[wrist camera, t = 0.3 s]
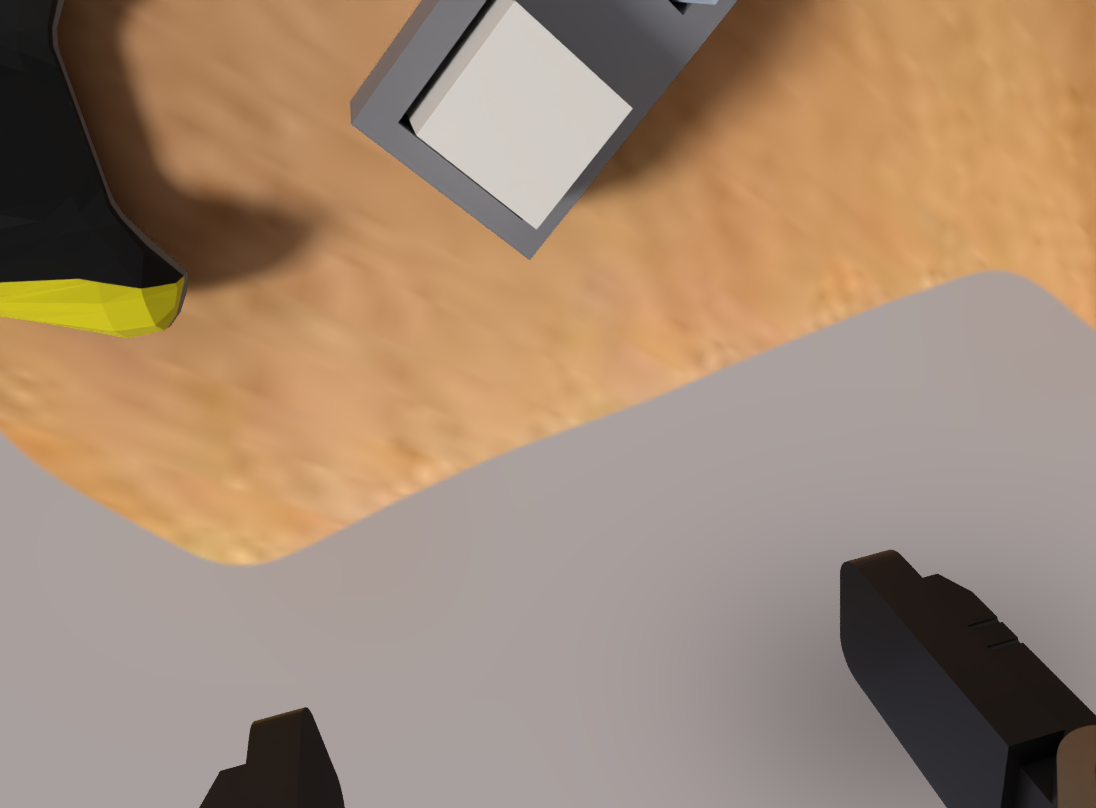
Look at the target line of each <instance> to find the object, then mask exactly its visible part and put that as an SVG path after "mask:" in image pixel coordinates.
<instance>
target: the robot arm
mask: <svg viewBox="0 0 1096 808" xmlns="http://www.w3.org/2000/svg"><path fill="white" fill-rule="evenodd" d="M840 639H841V646H842V650H843V653H844V657H845V659H846V662H847V665H848V667H849V669H850V671H851V673H852V674H853V676H854V678H855V680H856V681H857V682H858V684H859V685H860V687H861V688H862V689H863V691H864V692H865V694H866V695H867V696H868V698H869V699H870V701H871V702H872V703H873V705H874V706H875V707H876V709H877V710H878V712H879V713H880V715H881V716H882V717H883V719H884V720H885V721H886V723H887V724H888V726H889V727H890V729H891V730H892V731H893V733H894V734H895V736H896V737H897V738H898V740H899V741H900V743H901V744H902V745H903V747H904V748H905V750H906V751H907V752H908V754H909V755H910V757H911V758H912V759H913V761H914V762H915V764H916V765H917V766H918V768H919V769H920V770H921V772H922V773H923V775H924V776H925V777H926V779H927V780H928V782H929V783H930V785H931V786H932V787H933V789H934V790H935V792H936V793H937V794H938V796H939V797H940V799H941V800H942V801H943V803H944V804H945V806H946V807H947V808H1096V715H1095V714H1093V712H1092V711H1091V710H1090V709H1089V708H1088V707H1087V706H1086V705H1085V704H1084V703H1083V702H1082V701H1081V700H1080V699H1079V698H1078V697H1077V696H1076V695H1075V694H1074V693H1073V692H1072V691H1071V690H1070V689H1069V688H1068V687H1067V686H1066V685H1065V684H1064V683H1063V682H1062V681H1061V680H1060V679H1059V678H1058V677H1057V676H1056V675H1055V674H1054V673H1053V672H1052V671H1051V670H1050V669H1049V668H1048V667H1047V666H1046V665H1045V664H1044V663H1043V662H1042V661H1041V660H1040V659H1039V658H1038V657H1037V656H1036V655H1035V654H1034V653H1033V652H1032V651H1031V650H1029V648H1028V647H1027V646H1026V645H1025V644H1024V643H1020V642H1019V641H1018V637H1017V636H1016V635H1015V634H1014V633H1013V632H1012V631H1011V630H1010V629H1009V628H1008V627H1007V626H1006V625H1005V624H1004V623H1003V622H1001V623H1000V622H999V621H998V619H997V616H996V615H995V614H994V613H993V612H992V611H991V610H990V609H989V608H988V607H987V606H986V605H985V604H984V603H983V602H982V601H981V600H980V599H979V598H978V597H977V596H976V595H975V594H974V593H973V592H971V591H970V590H968V589H966V588H964V587H962V586H960V585H958V584H956V583H954V582H952V581H951V580H949V579H946V578H945V577H943V576H941V575H939V574H935V575H931V576H927V577H924V578H922V577H921V576H920V575H919V574H918V572H917V571H916V570H915V569H914V568H913V567H912V566H911V565H910V564H909V563H908V562H907V561H906V560H905V559H904V558H903V557H902V556H901V555H900V554H899V553H898V552H896V551H894V550H887V551H883V552H880V553H876V554H872V555H869V556H865V557H861V558H858V559H854V560H850V561H847V562H844V563H843V564H842V566H841V570H840ZM199 808H345V807H344V800H343V795H342V791H341V787H340V783H339V780H338V777H337V774H336V772H335V769H334V767H333V764H332V762H331V760H330V757H329V755H328V752H327V750H326V747H325V745H324V742H323V740H322V737H321V735H320V732H319V730H318V727H317V725H316V722H315V720H314V718H313V715H312V713H311V711H310V710H309V709H308V708H306V707H305V708H301V709H297V710H294V711H290V712H286V713H283V714H279V715H275V716H272V717H269V718H264V719H261V720H257V721H254V722H253V724H252V725H251V728H250V735H249V742H248V751H247V759H246V764H244V765H240V766H237V767H233V768H229V769H226V770H222V771H220V772H219V774H218V776H217V778H216V779H215V781H214V783H213V785H212V786H211V788H210V790H209V792H208V794H207V795H206V797H205V799H204V800H203V802H202V804H201V806H200V807H199Z"/></svg>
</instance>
